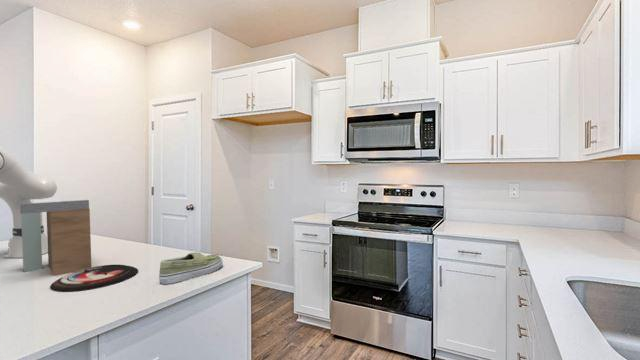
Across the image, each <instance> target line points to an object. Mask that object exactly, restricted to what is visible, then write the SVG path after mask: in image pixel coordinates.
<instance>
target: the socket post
mask: <svg viewBox="0 0 640 360" xmlns="http://www.w3.org/2000/svg"><path fill="white" fill-rule="evenodd" d="M21 224H22V248H23V257H22V268H23V272H24V273H27V272H28V273H29V272H32V271H38V270H39V271H40V270H43V254H42V245H41V220H40V212H38V213H25V214H21Z"/></svg>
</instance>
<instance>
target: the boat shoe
mask: <svg viewBox="0 0 640 360" xmlns="http://www.w3.org/2000/svg"><path fill="white" fill-rule="evenodd" d="M159 263H160V264H159V275H158V276H159V277H158V279H159V282H160V284H163V285H171V284H172V285H173V284H176V283H180V282H182V281H186V280H189V279H192V278H197V277H200V276H201V277H202V276H205V275H208V274H212V273H214V272H215V271H218V270H219V269H220V268H222V267H223V258H222V257H221V256H219V255H218V254H209V255H204V254H202V253H201V252H198V251H196V252H194V251H193V252H190V253H188V254H186V255H185V256H180V257H174V258H167V259H163V260H161V261H160V262H159Z"/></svg>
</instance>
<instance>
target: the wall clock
mask: <svg viewBox="0 0 640 360" xmlns="http://www.w3.org/2000/svg"><path fill="white" fill-rule="evenodd" d="M138 272H139V269H138V268H137V267H134V266H131V265H125V264H105V265H98V266H91V268H86V269H82V270H78V271H75V272H72V273H66V274H64V276H62V277H60V278H58V279H55V280H54V282H52V283H51V284H50V289H51V290H52V291H56V292H62V293H68V292H69V293H71V292H81V291H82V292H83V291H88V290H89V291H90V290H95V289H99V288H104V287H105V288H106V287H108V286H112V285H115V284H118V283H122V282H124V281H127V280H129V279H131V278H132V277H134V276H135V275H137V274H138Z"/></svg>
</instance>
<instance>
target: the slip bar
mask: <svg viewBox="0 0 640 360" xmlns="http://www.w3.org/2000/svg"><path fill="white" fill-rule="evenodd" d="M79 209H90V201H89V200H88V199H78V200H64V201H63V200H61V201H48V202H45V201H44V202H43V201H42V202H31V203H26V204H20V214H25V213H38V212H42V213H46V212H52V211H65V210H79Z"/></svg>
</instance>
